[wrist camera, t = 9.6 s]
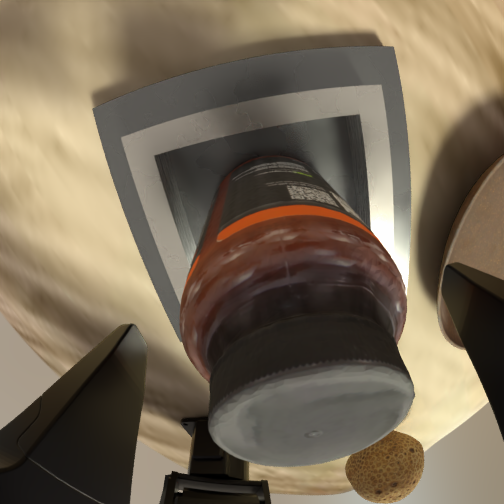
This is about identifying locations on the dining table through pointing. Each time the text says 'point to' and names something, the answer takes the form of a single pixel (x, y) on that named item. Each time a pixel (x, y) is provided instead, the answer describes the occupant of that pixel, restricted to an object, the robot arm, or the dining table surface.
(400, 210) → the grey square tray
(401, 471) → the natural sponge
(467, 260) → the plant saucer
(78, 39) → the dining table surface
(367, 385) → the supplement bottle
